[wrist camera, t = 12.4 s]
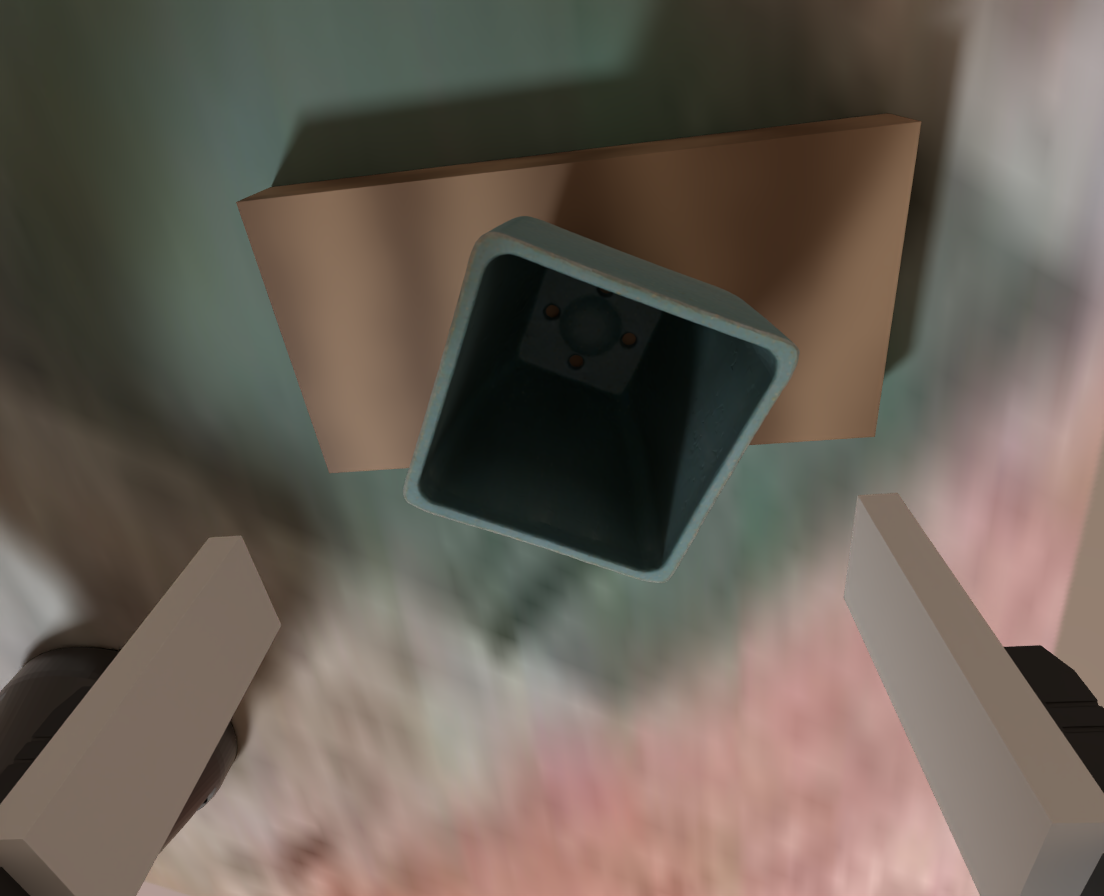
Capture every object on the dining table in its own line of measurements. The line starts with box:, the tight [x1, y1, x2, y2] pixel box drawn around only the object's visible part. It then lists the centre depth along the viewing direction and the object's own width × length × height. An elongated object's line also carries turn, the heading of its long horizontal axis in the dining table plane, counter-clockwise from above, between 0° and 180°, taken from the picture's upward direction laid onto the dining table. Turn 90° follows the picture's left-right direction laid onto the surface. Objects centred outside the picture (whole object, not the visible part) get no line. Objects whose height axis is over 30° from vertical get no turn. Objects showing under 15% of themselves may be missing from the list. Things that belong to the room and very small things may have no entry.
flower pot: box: [403, 216, 800, 583], centre depth 22 cm, size 9×9×9 cm
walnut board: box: [236, 113, 921, 473], centre depth 28 cm, size 24×12×3 cm, turn 97°
